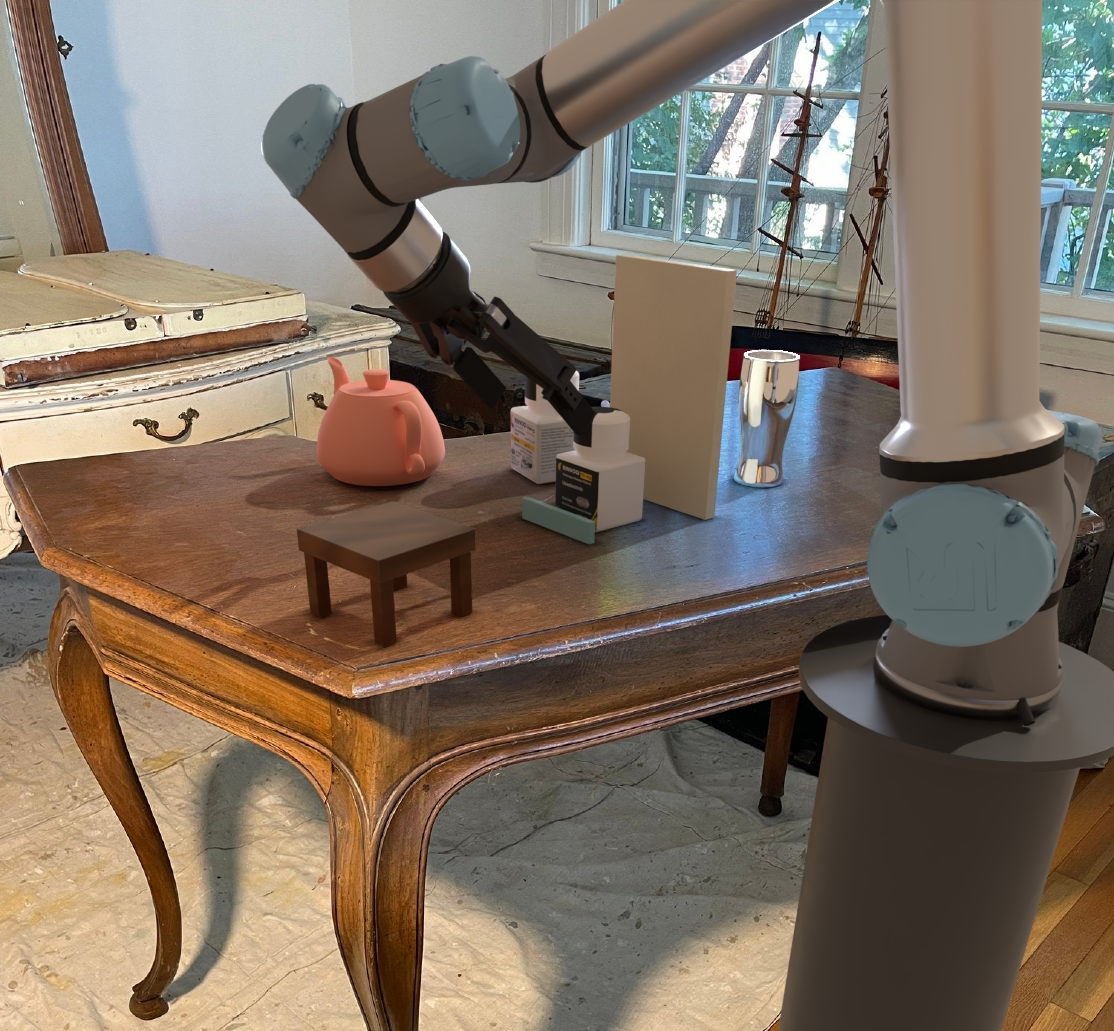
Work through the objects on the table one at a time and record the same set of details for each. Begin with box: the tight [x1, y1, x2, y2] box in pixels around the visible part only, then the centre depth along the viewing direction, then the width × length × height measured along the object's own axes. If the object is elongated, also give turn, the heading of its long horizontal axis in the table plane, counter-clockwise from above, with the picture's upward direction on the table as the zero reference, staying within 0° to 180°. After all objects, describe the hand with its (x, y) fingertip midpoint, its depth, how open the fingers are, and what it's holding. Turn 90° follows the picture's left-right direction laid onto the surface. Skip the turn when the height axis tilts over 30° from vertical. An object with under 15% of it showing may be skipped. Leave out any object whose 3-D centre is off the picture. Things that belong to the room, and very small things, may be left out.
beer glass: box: [733, 349, 801, 489], centre depth 134 cm, size 7×7×15 cm
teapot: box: [316, 356, 446, 487], centre depth 135 cm, size 22×16×12 cm
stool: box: [296, 500, 477, 648], centre depth 98 cm, size 11×11×8 cm
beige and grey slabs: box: [521, 253, 738, 545], centre depth 118 cm, size 16×17×26 cm
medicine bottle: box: [554, 406, 645, 533], centre depth 121 cm, size 7×7×12 cm
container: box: [510, 370, 580, 485], centre depth 135 cm, size 8×8×13 cm
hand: (540, 410), depth 112 cm, fingers open, 13 cm apart
